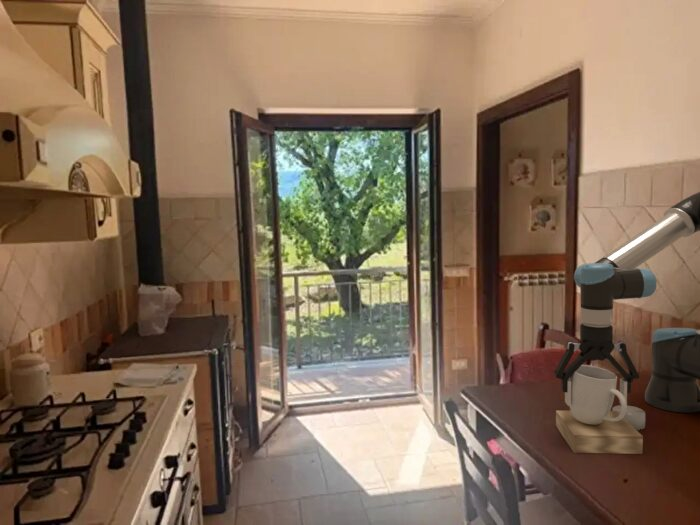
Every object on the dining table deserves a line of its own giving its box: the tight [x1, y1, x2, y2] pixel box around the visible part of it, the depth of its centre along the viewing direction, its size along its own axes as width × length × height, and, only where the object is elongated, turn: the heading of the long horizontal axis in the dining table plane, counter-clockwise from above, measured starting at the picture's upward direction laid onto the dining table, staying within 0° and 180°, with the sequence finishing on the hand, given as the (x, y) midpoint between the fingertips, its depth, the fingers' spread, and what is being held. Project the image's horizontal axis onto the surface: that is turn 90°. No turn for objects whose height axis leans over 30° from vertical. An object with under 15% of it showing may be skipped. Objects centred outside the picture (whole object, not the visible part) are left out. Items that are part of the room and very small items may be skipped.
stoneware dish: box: [611, 404, 646, 431], centre depth 142 cm, size 8×8×4 cm
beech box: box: [555, 410, 644, 455], centre depth 134 cm, size 16×16×5 cm
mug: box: [569, 364, 628, 425], centre depth 132 cm, size 15×11×13 cm
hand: (595, 404), depth 133 cm, fingers open, 13 cm apart
